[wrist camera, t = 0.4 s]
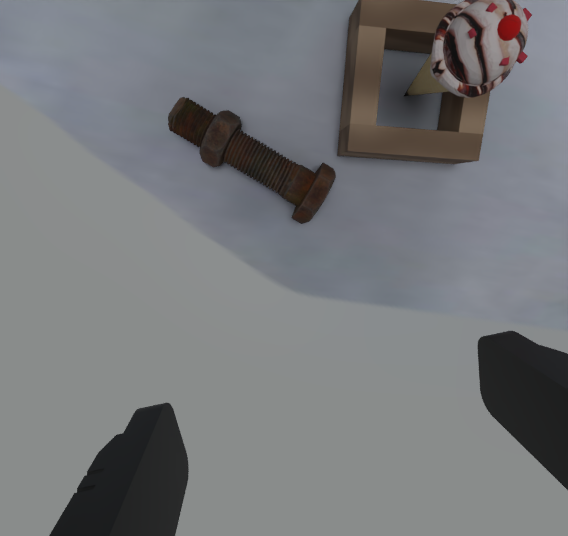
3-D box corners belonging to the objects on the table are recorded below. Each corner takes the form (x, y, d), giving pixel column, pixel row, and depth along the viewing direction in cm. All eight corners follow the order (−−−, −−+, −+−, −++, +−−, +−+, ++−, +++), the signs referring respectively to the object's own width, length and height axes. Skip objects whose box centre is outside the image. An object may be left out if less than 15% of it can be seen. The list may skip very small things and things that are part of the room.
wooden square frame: (349, 17, 32) (362, -7, 28) (474, 31, 33) (503, 9, 29) (337, 155, 34) (347, 150, 31) (454, 164, 36) (478, 160, 32)
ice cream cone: (363, 101, 34) (445, 31, 19) (400, 48, 33) (516, -67, 18) (407, 138, 35) (518, 99, 20) (445, 88, 34) (588, 10, 19)
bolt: (188, 114, 35) (319, 192, 37) (161, 151, 33) (300, 231, 35) (191, 68, 29) (344, 162, 31) (158, 109, 27) (323, 206, 29)
